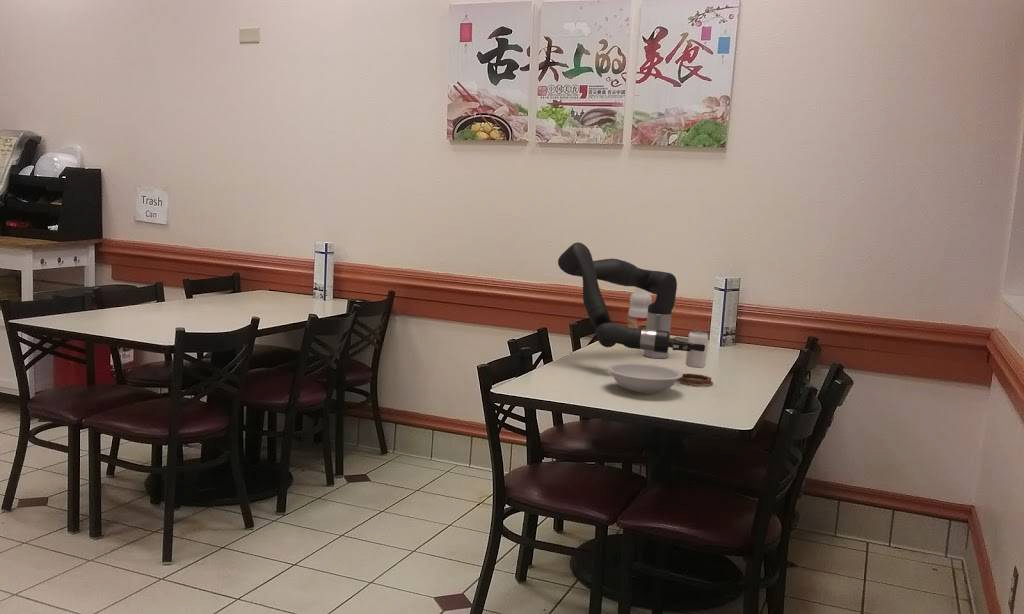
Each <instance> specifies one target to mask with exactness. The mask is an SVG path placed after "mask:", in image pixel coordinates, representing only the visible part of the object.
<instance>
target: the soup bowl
mask: <svg viewBox="0 0 1024 614" xmlns="http://www.w3.org/2000/svg"><path fill="white" fill-rule="evenodd" d="M606 370H607V371H608V372H609V373H611V376H612V378H613V379H614V380H615V382H617V384H618V385H620V387H623V389H626V390H629V391H633V392H638V393H644V394H645V393H650V394H652V393H660V392H664V391H666V390H668V389H670V388H671V387H673V386H674V385H675V383H677V379H680V378H682V377H683V374H684V373H683V372H681V371H680V370H677V369H674V368H671V367H667V366H664V365H657V364H650V363H642V362H641V363H640V362H639V363H637V362H619V363H613V364H609V365H607V366H606Z"/></svg>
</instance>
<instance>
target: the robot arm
mask: <svg viewBox="0 0 1024 614" xmlns="http://www.w3.org/2000/svg"><path fill="white" fill-rule="evenodd" d="M557 265H558V267H559V269H560V270H561V271H562V272H564V273H565V274H567V275H570V276H573V277H574V276H575V277H580V278H581V277H582V300H583V305H584V308H585V311H586V314H587V316H588V317H589V319H590V321H591V325H592V326H593V329H594V333H595V336H596V337H597V340H598V343H599V344H600V345H601V346H603V347H604V348H612V347H614V346H615V345H616V344H618V345H622V346H624V347H626V348H629V349H636V350H642V351H643V356H644V355H645V357H649V358H652V359H653V358H654V359H667V358H668V356H669V348H671V349H672V351H681V352H687V351H688V352H689V351H693V350H695V351H704V350H705V345H701V344H694V345H693V343H689V342H688V337H687V338H686V337H679V336H675V337H674V338H673V337H670V335H671V324H672V313H673V312H672V311H673V309H674V307H675V303H676V297H677V290H678V282H677V278H676V276H675V275H674V274H673V273H670V272H665V271H660V270H651V269H650V270H649V269H644V268H639V267H638V266H636V265H635V264H633V263H630V262H629V261H626V260H622V259H617V258H605V259H598V260H593V256H592V253H591V251H590V249H589V248H588V247H587V245H585V244H583V243H582V242H574V243H572V244H571V245H570V246H569V247H567V249H566V250H565V251H564V252H562V253H561V254H560V256H559V257H558V260H557ZM598 280H599V281H603V282H607V283H610V284H614V285H618V286H623V287H635V288H636V287H638V288H640V289H643V290H645V291H648V292H649V294H652V295H655V301H654V302H652V303H651V304H650V305H649V306H648V314H647V326H646V329H637V328H628V327H627V326H625V325H622V324H618V323H613V322H612V320H611V316H610V313H609V311H608V307H607V305H606V303H605V300H604V298H603V296H602V292H601V290H600V289H601V288H600V285H599V282H598Z"/></svg>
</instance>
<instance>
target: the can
mask: <svg viewBox="0 0 1024 614" xmlns="http://www.w3.org/2000/svg"><path fill="white" fill-rule="evenodd" d="M689 331H690V332H689V333H688V337H687V338H688V342H689V343H693V345H694V344H701V345H705V350H704V351H695V350H693V351H689V352H688V351H686V357H685V365H686V366H687V367H690V368H695V369H703V368H705V367H706V359H707V349H708V343H709V342H708V341H709V335H708V331H705V330H700V329H690V330H689Z"/></svg>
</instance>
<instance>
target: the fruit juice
mask: <svg viewBox="0 0 1024 614" xmlns="http://www.w3.org/2000/svg"><path fill="white" fill-rule="evenodd" d="M652 303H653V298H652V295H651V293H650V292H648V291H645V290H643V289H640V288H638V287H635V288H634V291H633V292H632V293H631V295H630V297H629V304H630V306H629V309H628V312H627V313H628V314H627V324H626V327H628V328H637V329H646V326H647V314H648V306H649V305H650V304H652Z"/></svg>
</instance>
